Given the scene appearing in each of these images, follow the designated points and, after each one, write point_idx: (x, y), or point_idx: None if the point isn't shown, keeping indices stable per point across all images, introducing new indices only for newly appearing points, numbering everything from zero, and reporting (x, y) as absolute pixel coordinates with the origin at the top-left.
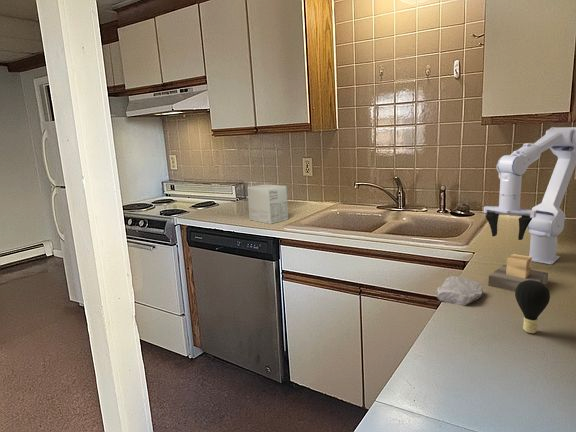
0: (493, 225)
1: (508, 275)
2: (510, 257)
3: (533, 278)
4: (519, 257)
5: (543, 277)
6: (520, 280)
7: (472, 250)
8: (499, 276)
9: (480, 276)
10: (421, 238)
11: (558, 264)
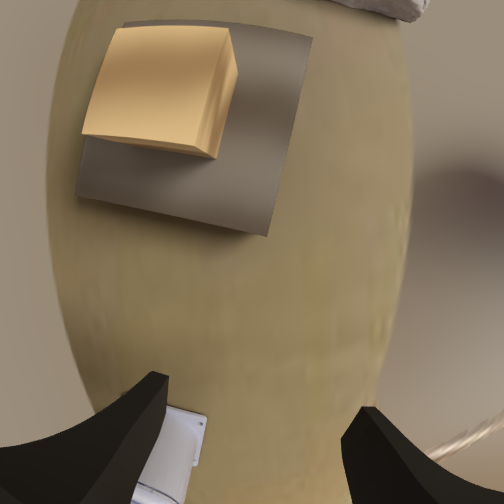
0: (409, 468)
1: None
2: (207, 49)
3: None
4: (149, 77)
5: None
6: None
7: None
8: (265, 41)
9: (354, 155)
10: (472, 440)
11: (113, 398)
